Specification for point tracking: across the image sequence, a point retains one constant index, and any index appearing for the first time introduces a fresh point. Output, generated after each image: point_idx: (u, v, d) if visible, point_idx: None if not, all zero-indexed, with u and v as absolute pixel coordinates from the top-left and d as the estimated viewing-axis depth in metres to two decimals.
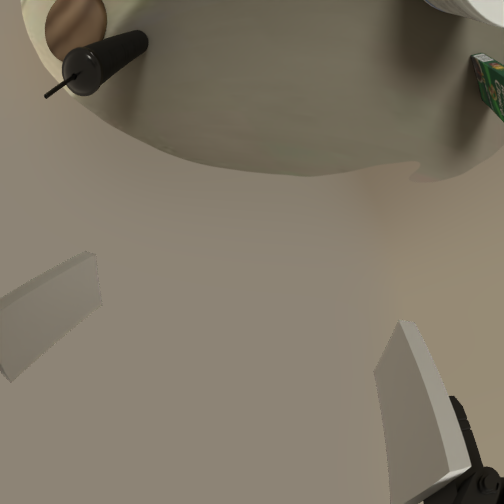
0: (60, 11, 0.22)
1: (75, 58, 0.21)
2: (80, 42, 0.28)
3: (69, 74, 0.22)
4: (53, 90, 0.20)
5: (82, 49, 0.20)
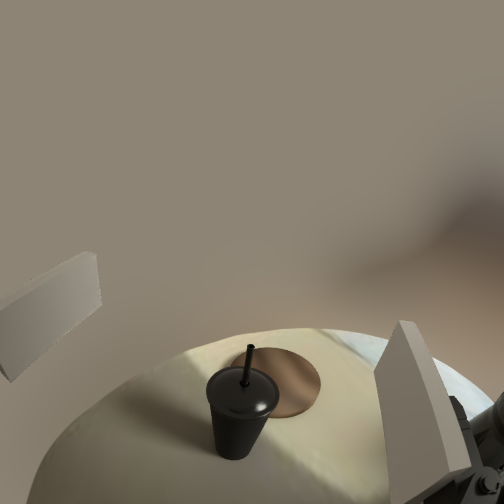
0: (299, 369, 0.45)
1: (268, 391, 0.25)
2: None
3: (249, 378, 0.26)
4: (250, 357, 0.23)
5: (276, 402, 0.24)
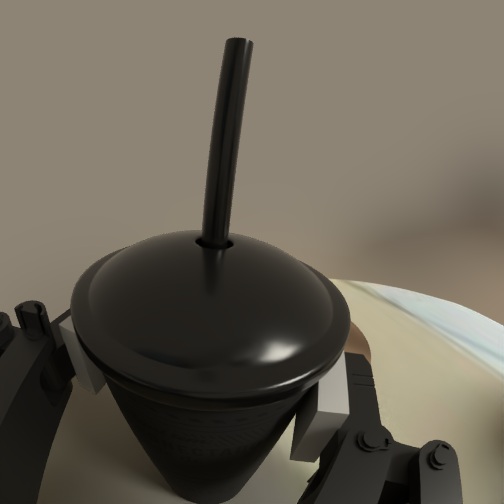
0: None
1: (310, 281, 0.07)
2: None
3: (233, 235, 0.08)
4: (237, 79, 0.05)
5: (345, 323, 0.06)
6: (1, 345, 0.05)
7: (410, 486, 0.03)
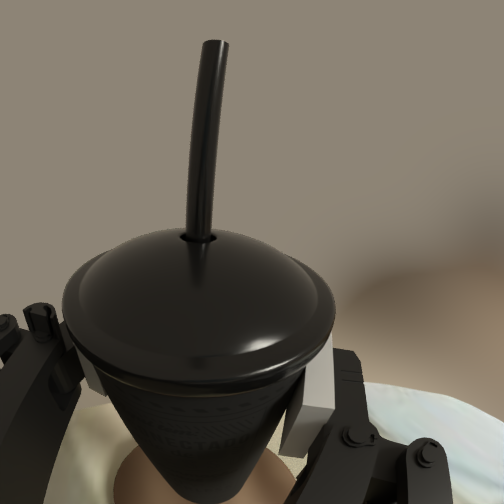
0: (261, 481, 0.17)
1: (292, 272, 0.07)
2: None
3: (218, 231, 0.08)
4: (213, 79, 0.05)
5: (329, 313, 0.06)
6: (8, 348, 0.05)
7: (398, 484, 0.03)
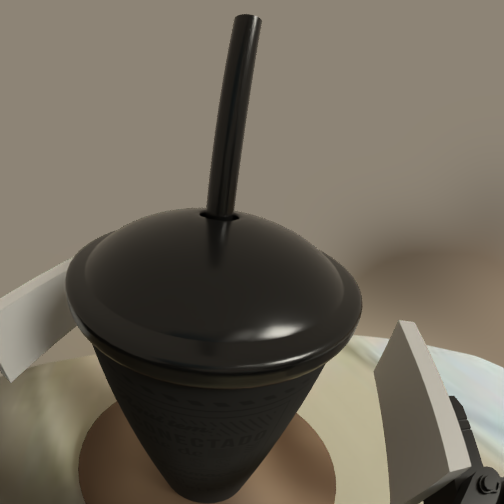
0: (279, 447, 0.14)
1: (319, 256, 0.06)
2: (134, 484, 0.10)
3: (239, 212, 0.07)
4: (246, 52, 0.05)
5: (357, 300, 0.06)
6: None
7: None
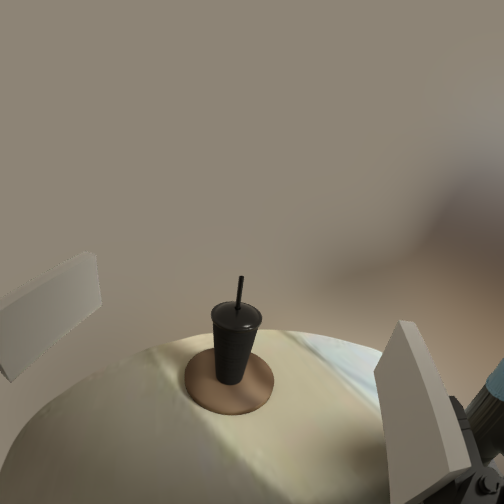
0: (255, 369, 0.47)
1: (253, 314, 0.39)
2: (206, 381, 0.43)
3: (240, 305, 0.40)
4: (241, 285, 0.38)
5: (259, 322, 0.39)
6: None
7: None
